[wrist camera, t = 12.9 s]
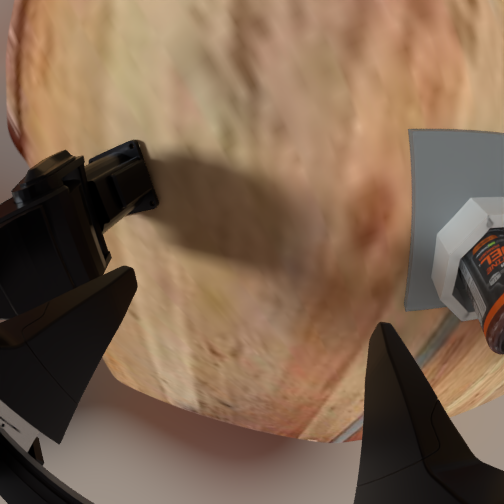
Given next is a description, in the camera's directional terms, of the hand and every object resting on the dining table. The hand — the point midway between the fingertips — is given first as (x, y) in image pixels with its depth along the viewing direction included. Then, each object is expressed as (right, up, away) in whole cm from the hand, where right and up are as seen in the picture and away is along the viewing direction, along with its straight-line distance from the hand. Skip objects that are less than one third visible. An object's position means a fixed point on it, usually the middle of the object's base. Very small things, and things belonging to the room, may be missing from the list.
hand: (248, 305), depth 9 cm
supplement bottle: (+19, +2, +8) cm, 21 cm away
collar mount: (+21, +4, +7) cm, 23 cm away
